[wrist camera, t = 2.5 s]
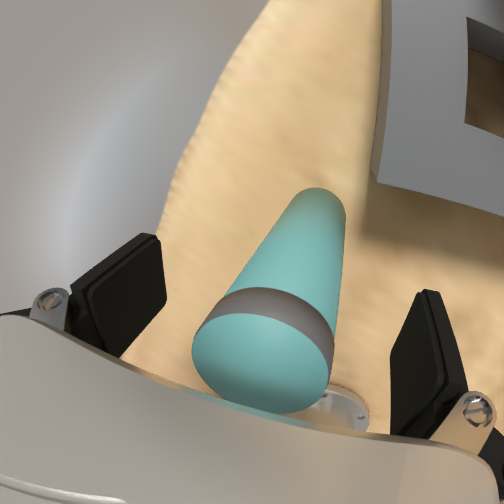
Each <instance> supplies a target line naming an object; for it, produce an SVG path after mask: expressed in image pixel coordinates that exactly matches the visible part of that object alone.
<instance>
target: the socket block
mask: <svg viewBox="0 0 504 504" xmlns="http://www.w3.org/2000/svg"><path fill="white" fill-rule="evenodd" d="M468 48H471V49H473V50H476V51H478V52H480V53H483V54H485V55H487V56H490V57H492V58H494V59H496V60H498V61H500V62H503V63H504V0H382V50H381V70H380V84H379V96H378V107H377V117H376V126H375V134H374V142H373V149H372V156H371V163H370V168H371V171H372V173H373V175H374V177H375V179H376V181H377V183H381V184H386V185H390V186H395V187H399V188H403V189H408V190H412V191H416V192H420V193H424V194H428V195H432V196H436V197H439V198H443V199H447V200H450V201H454V202H457V203H461V204H464V205H468V206H471V207H474V208H478V209H481V210H484V211H487V212H490V213H493V214H496V215H499V216H502V217H504V138H502V137H500V136H497V135H495V134H492V133H490V132H487V131H485V130H482V129H480V128H477V127H474V126H471V125H469V124H466V123H464V119H465V109H466V97H467V78H468Z"/></svg>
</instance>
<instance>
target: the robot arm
mask: <svg viewBox="0 0 504 504" xmlns="http://www.w3.org/2000/svg"><path fill="white" fill-rule="evenodd" d="M70 287H71V290H72V294H71V295H70V296H69V294H68V292H67V291H66V290H65V289H63V288H51V289H48V290H46V291H43V292H42V293H40V294H39V295H38V296H37V297H36V298H35V300H34V302H33V306H32V308H28V309H23V310H18V311H13V312H8V313H3V314H0V504H504V436H503V435H502V434H501V433H500V432H499V431H498V430H497V429H496V428H495V427H494V425H495V422H496V409H495V406H494V404H493V403H492V401H491V400H490V399H489V398H488V397H487V396H486V395H484V394H483V393H481V392H477V391H469V390H468V386H467V381H466V377H465V372H464V368H463V364H462V361H461V357H460V353H459V349H458V346H457V342H456V339H455V336H454V333H453V330H452V327H451V324H450V321H449V317H448V314H447V312H446V309H445V306H444V303H443V300H442V297H441V294H440V293H439V292H438V291H433V290H427V289H424V290H423V291H422V292H421V293H420V292H418V293H417V294H416V296H415V298H414V301H413V303H412V306H411V308H410V311H409V313H408V315H407V318H406V320H405V322H404V324H403V327H402V329H401V331H400V333H399V335H398V337H397V339H396V342H395V344H394V346H393V348H392V350H391V354H390V378H391V420H390V435H388V434H379V433H372V432H365V431H366V430H367V428H368V426H369V418H370V415H369V409H368V407H367V405H366V404H365V402H364V401H363V400H362V399H361V398H360V397H358V396H357V395H356V394H354V393H352V392H351V391H349V390H347V389H344V388H342V387H339V386H336V385H332V384H328V386H327V388H326V390H325V392H324V394H323V395H322V397H321V398H320V399H319V400H318V401H317V402H316V403H315V404H313V405H312V406H310V407H309V408H306V409H304V410H302V411H298V412H294V413H289V414H273V413H269V412H265V411H261V410H258V409H254V408H251V407H247V406H243V405H240V404H237V403H233V402H230V401H227V400H224V399H221V398H217V397H214V396H211V395H208V394H205V393H203V392H200V391H197V390H194V389H191V388H188V387H186V386H183V385H180V384H178V383H175V382H172V381H170V380H167V379H165V378H162V377H160V376H157V375H155V374H153V373H150V372H148V371H145V370H143V369H141V368H138V367H136V366H134V365H132V364H129V363H127V362H125V361H123V360H121V359H119V358H120V357H121V355H122V354H123V353H124V352H125V351H126V349H127V348H128V347H129V346H130V345H131V344H132V342H133V341H134V340H135V339H136V338H137V337H138V336H139V334H140V333H141V332H142V331H143V330H144V329H145V327H146V326H147V325H148V324H149V323H150V322H151V321H152V319H153V318H154V317H155V316H156V315H157V314H158V313H159V311H160V310H161V309H162V308H163V307H164V306H165V304H166V301H167V293H166V286H165V278H164V269H163V260H162V251H161V242H160V240H158V238H157V236H155V235H152V234H147V233H140V234H139V235H137V236H136V237H135V238H133V239H132V240H130V241H129V242H128V243H126V244H125V245H123V246H122V247H120V248H119V249H118V250H116V251H115V252H113V253H112V254H111V255H109V256H108V257H107V258H105V259H104V260H102V261H101V262H100V263H98V264H97V265H96V266H94V267H93V268H92V269H90V270H89V271H88V272H87V273H85V274H84V275H83V276H81V277H80V278H79V279H77V280H76V281H75V282H74V283H72V284H71V285H70Z"/></svg>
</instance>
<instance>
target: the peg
mask: <svg viewBox="0 0 504 504" xmlns="http://www.w3.org/2000/svg"><path fill="white" fill-rule="evenodd" d="M345 221H346V214H345V209H344V206H343V204H342V203H341V201H340V200H339V198H338V197H337V196H336V195H334V194H333V193H332V192H330V191H328V190H325V189H322V188H309V189H306V190H303V191H301V192H300V193H298V194H297V195H296V196H295V197H294V198H293V199H292V201H291V202H290V204H289V205H288V206H287V208H286V209H285V211H284V212H283V214H282V215H281V216H280V218H279V219H278V221H277V222H276V223H275V225H274V226H273V228H272V229H271V231H270V232H269V233H268V235H267V236H266V238H265V239H264V240H263V242H262V243H261V245H260V246H259V248H258V249H257V250H256V252H255V253H254V255H253V256H252V257H251V259H250V260H249V262H248V263H247V264H246V266H245V267H244V269H243V270H242V272H241V273H240V274H239V276H238V277H237V279H236V280H235V281H234V283H233V284H232V286H231V287H230V288H229V290H228V291H227V293H226V294H225V296H224V297H223V298H222V299H221V300H220V301H219V302H218V303H217V304H216V305H215V307H214V308H213V310H212V311H211V312H210V314H209V315H208V316H207V318H206V319H205V321H204V322H203V323H202V325H201V326H200V328H199V329H198V331H197V332H196V335H195V337H194V341H193V344H192V358H193V362H194V365H195V367H196V369H197V371H198V373H199V374H200V376H201V378H202V379H203V380H204V381H205V382H206V384H207V385H208V386H209V387H210V388H211V389H213V390H214V391H215V392H216V393H217V394H219V395H220V396H222V397H223V398H225V399H226V400H228V401H230V402H233V403H237V404H240V405H243V406H247V407H251V408H254V409H258V410H261V411H265V412H269V413H273V414H289V413H294V412H298V411H302V410H304V409H306V408H309V407H310V406H312V405H313V404H315V403H316V402H317V401H318V400H319V399H320V398H321V397H322V395H323V394H324V392H325V390H326V388H327V386H328V384H329V380H330V374H331V368H332V362H333V355H334V345H335V344H334V337H335V330H336V322H337V314H338V306H339V297H340V287H341V277H342V266H343V253H344V239H345Z"/></svg>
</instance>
